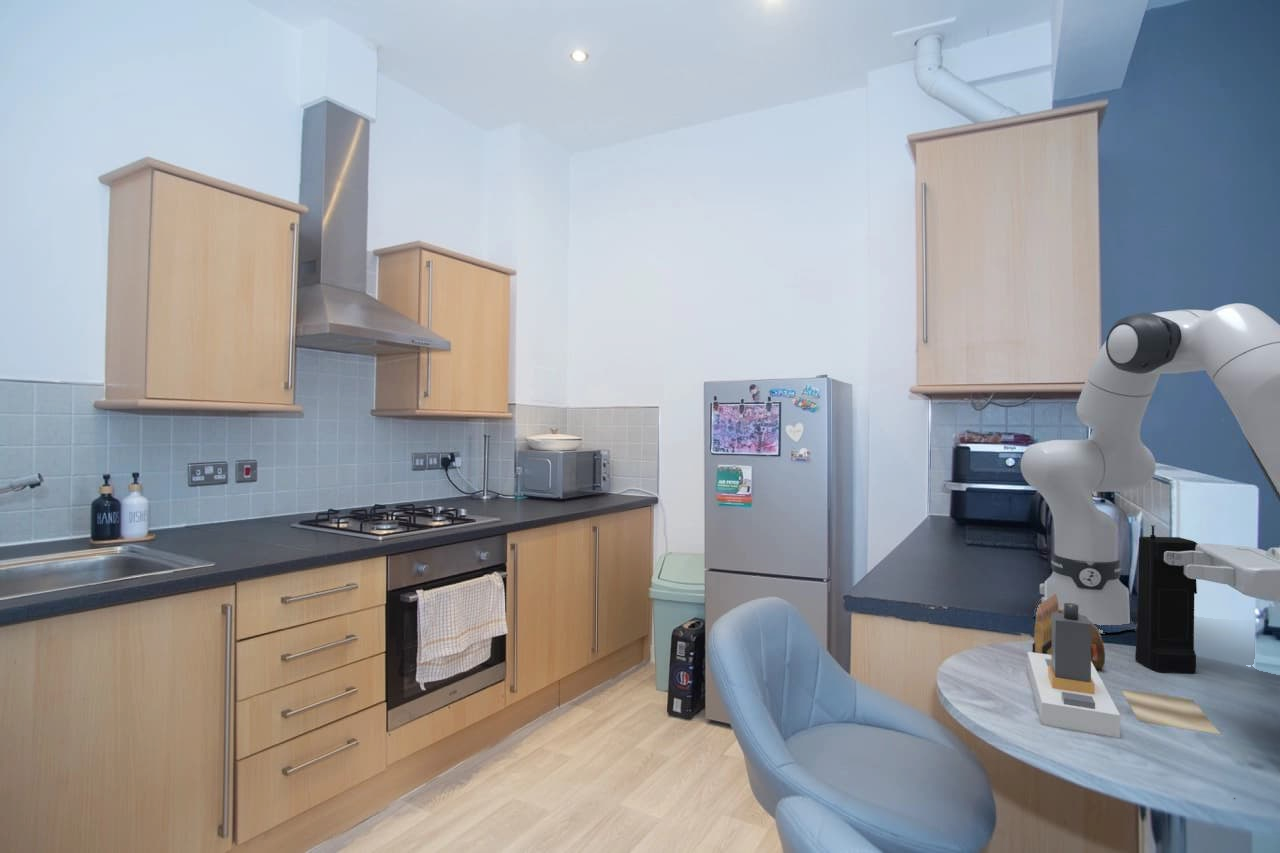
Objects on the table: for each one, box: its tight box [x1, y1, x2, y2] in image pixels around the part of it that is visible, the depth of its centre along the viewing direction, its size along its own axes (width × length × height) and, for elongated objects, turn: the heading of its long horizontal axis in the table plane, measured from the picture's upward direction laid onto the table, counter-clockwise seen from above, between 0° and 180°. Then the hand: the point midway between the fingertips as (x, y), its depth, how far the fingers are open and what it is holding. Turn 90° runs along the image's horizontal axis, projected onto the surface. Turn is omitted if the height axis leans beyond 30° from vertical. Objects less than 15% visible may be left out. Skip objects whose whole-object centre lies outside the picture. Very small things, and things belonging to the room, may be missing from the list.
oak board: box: [1120, 688, 1222, 735], centre depth 96 cm, size 12×9×1 cm
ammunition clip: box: [1031, 594, 1059, 655], centre depth 116 cm, size 11×2×12 cm, turn 134°
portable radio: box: [1134, 524, 1199, 674], centre depth 115 cm, size 8×6×25 cm
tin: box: [1059, 610, 1106, 670], centre depth 118 cm, size 15×3×8 cm, turn 168°
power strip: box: [1026, 651, 1121, 739], centre depth 100 cm, size 22×9×5 cm, turn 154°
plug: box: [1048, 603, 1095, 694], centre depth 98 cm, size 5×5×15 cm
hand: (1174, 563), depth 92 cm, fingers open, 8 cm apart
